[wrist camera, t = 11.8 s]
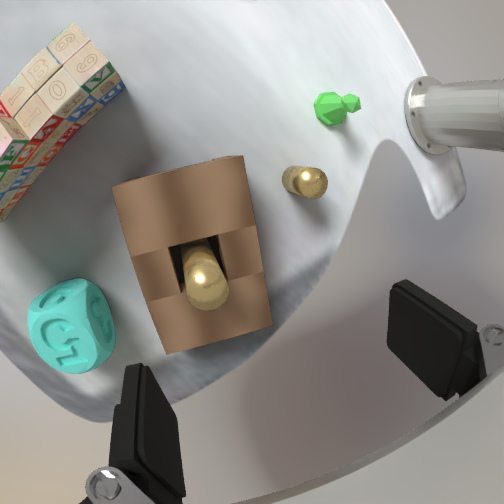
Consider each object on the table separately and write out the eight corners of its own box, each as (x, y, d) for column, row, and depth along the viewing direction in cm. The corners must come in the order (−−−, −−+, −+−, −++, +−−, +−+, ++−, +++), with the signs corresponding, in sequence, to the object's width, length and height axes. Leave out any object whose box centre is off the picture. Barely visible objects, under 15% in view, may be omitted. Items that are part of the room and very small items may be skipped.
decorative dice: (68, 341, 33) (52, 379, 25) (42, 287, 30) (17, 319, 22) (119, 328, 34) (111, 368, 27) (95, 271, 31) (77, 302, 24)
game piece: (325, 131, 33) (353, 129, 28) (306, 101, 31) (332, 93, 26) (349, 115, 33) (378, 111, 28) (332, 86, 32) (359, 77, 26)
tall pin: (205, 229, 33) (223, 267, 22) (211, 256, 34) (232, 304, 23) (177, 236, 33) (182, 278, 22) (184, 262, 34) (193, 314, 23)
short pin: (305, 163, 34) (325, 165, 29) (309, 190, 35) (329, 195, 30) (280, 168, 33) (297, 170, 29) (284, 195, 34) (302, 201, 30)
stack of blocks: (97, 52, 24) (65, 6, 12) (127, 87, 26) (104, 50, 15) (-21, 186, 24) (-82, 204, 12) (4, 222, 26) (-53, 253, 15)
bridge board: (230, 155, 31) (243, 155, 26) (257, 301, 38) (272, 325, 32) (122, 182, 29) (111, 187, 24) (165, 325, 35) (166, 354, 30)
